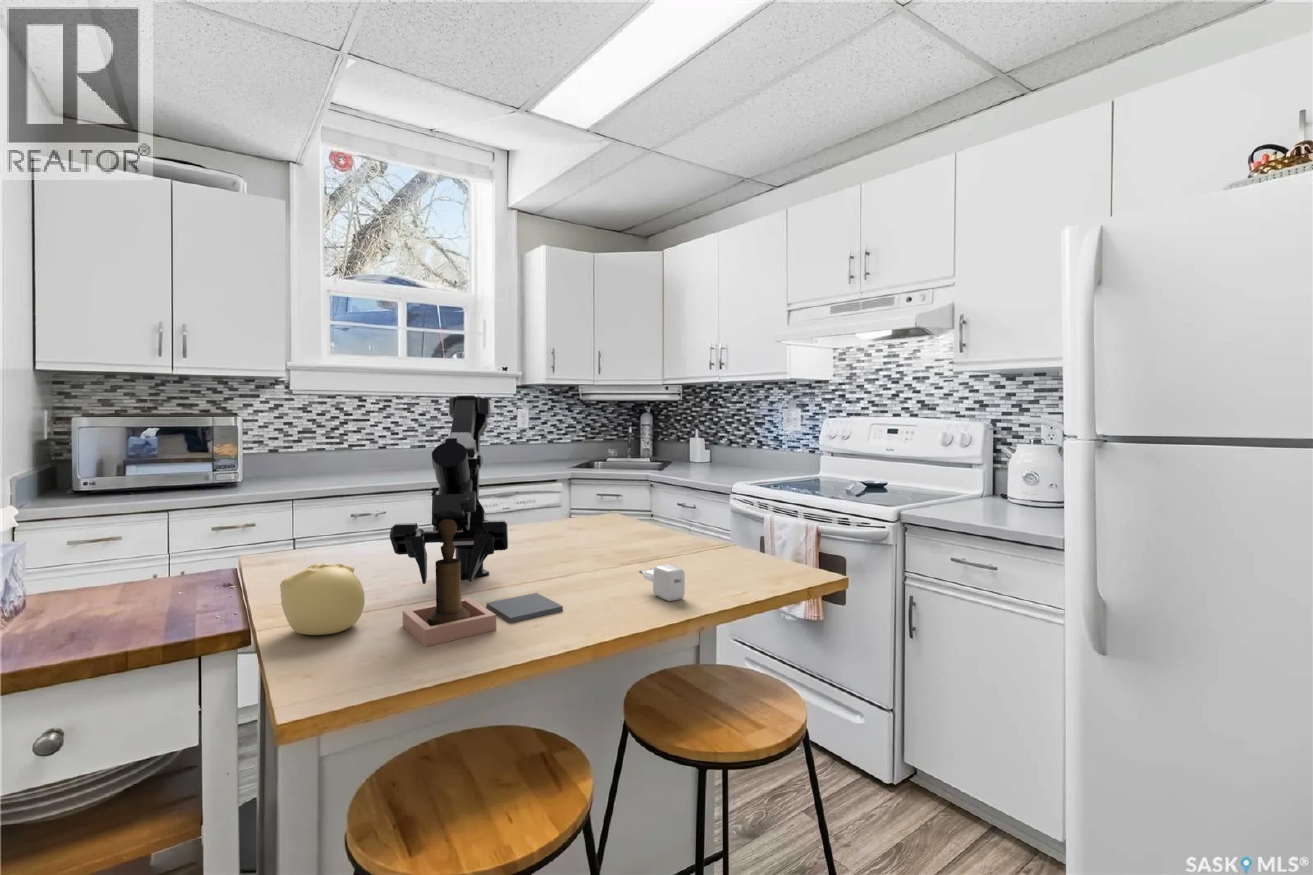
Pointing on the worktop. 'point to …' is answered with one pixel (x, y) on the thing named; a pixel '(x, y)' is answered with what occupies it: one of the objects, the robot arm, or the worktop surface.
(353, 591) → the pale yellow round lump
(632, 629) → the worktop surface
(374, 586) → the worktop surface
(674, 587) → the power adapter
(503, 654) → the worktop surface
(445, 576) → the mortar and pestle
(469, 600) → the tray
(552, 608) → the mat
